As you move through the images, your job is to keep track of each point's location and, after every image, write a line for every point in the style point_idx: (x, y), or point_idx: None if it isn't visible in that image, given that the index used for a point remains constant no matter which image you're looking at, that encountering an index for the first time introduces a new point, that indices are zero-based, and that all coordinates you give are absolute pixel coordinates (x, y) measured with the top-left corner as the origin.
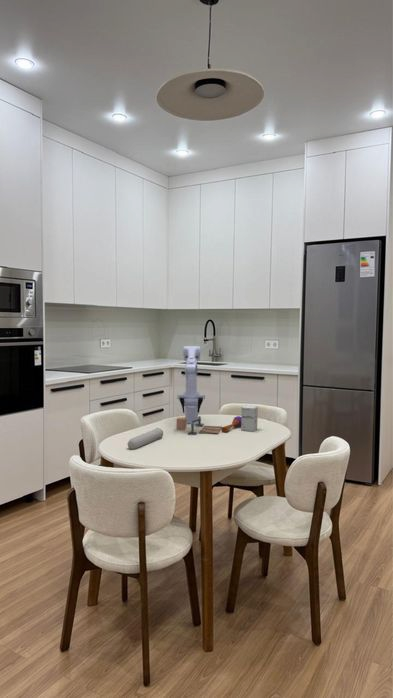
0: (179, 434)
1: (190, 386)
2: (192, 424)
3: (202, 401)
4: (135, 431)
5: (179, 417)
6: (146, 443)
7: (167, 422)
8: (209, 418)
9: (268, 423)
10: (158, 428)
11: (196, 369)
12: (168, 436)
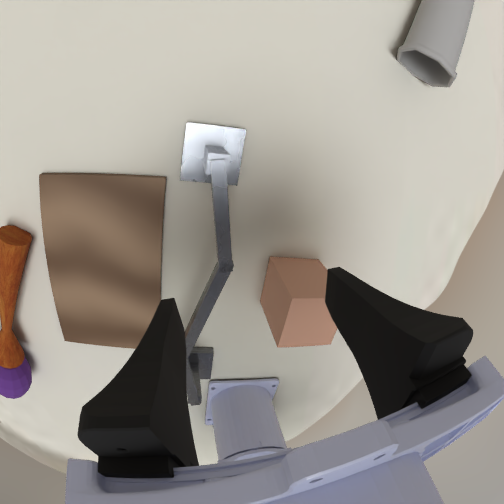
0: (302, 138)
1: None
2: (218, 158)
3: (84, 405)
4: (476, 206)
5: (325, 337)
6: None
7: (344, 376)
8: None
9: None
10: (447, 63)
11: None
12: (365, 89)
